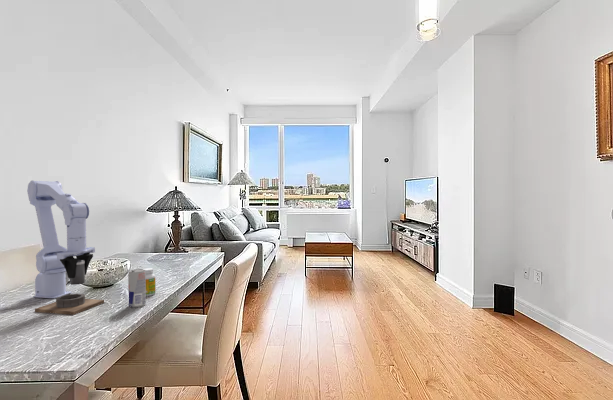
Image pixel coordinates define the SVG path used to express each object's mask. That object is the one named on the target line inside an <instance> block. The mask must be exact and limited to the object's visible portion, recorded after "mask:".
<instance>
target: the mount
mask: <svg viewBox="0 0 613 400" xmlns="http://www.w3.org/2000/svg"><path fill="white" fill-rule="evenodd" d="M104 303H105V300H104V299H93V298H86V295H85V294H84V293H70V294H66V295H63V296H60V297H57V298H55V301H54V302H51V303H48V304H44V305H42V306H39V307H37V308H34V312H35V313H42V314H43V313H47V314H57V315H58V314H59V315H71V316H72V315H73V316H74V315H78V314H79V313H82V312H85V311H88V310H89V309H92V308H95V307H98V306H99V305H103V304H104Z"/></svg>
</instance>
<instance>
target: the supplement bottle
mask: <svg viewBox="0 0 613 400" xmlns="http://www.w3.org/2000/svg"><path fill="white" fill-rule="evenodd" d="M142 269H143V270H145V279H146V297H149V296H150V297H151V296H154V295H155V294H156V274H155V273H154V268H152V267H146V268H142Z"/></svg>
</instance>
